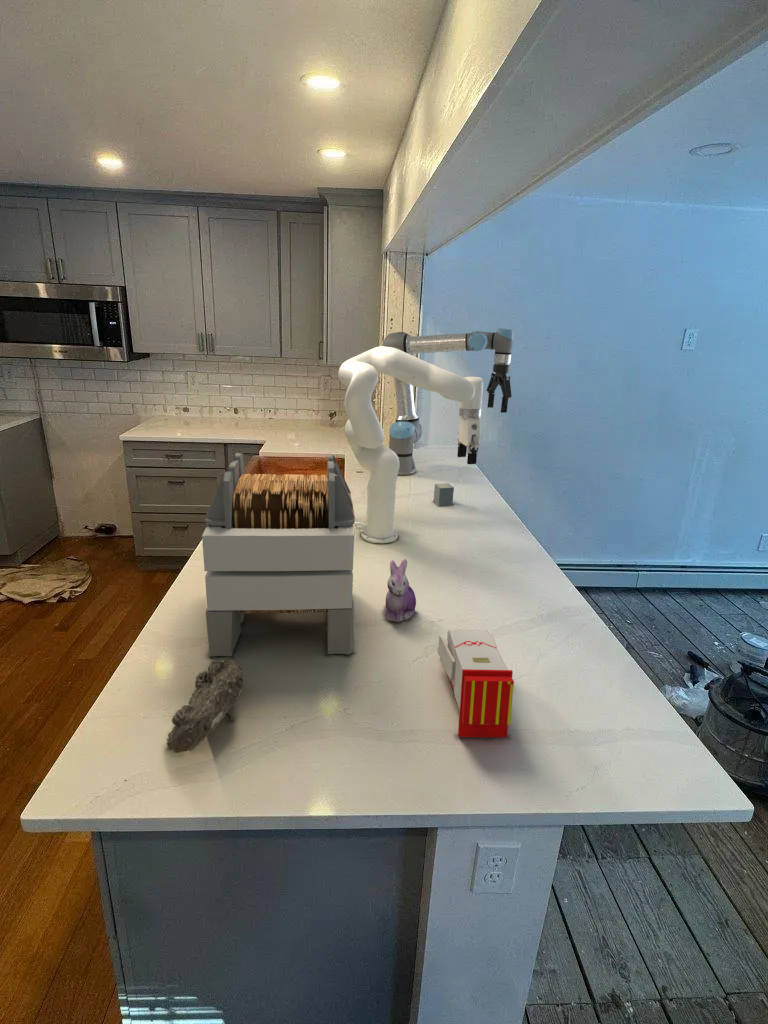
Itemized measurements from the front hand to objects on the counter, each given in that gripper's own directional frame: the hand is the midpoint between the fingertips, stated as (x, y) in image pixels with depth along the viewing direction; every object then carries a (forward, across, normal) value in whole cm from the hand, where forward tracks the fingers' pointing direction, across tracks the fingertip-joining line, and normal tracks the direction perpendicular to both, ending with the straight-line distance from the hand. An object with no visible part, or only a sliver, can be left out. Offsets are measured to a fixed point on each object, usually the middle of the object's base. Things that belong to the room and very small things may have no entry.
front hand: (466, 460), depth 204 cm
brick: (+24, +22, 0) cm, 33 cm away
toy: (+23, -94, +34) cm, 103 cm away
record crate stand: (+22, -59, +70) cm, 94 cm away
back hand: (-6, +62, -39) cm, 74 cm away
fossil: (+22, -93, +86) cm, 128 cm away
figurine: (+23, -61, +41) cm, 77 cm away
